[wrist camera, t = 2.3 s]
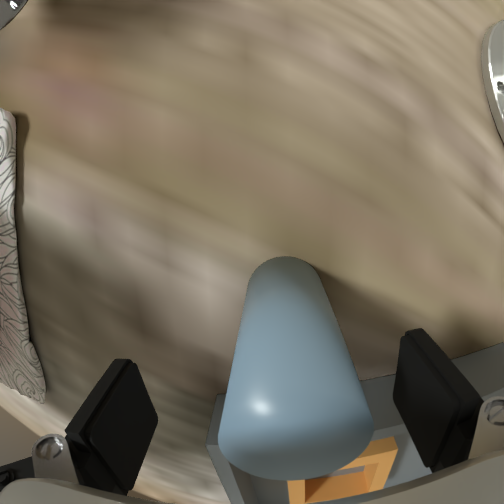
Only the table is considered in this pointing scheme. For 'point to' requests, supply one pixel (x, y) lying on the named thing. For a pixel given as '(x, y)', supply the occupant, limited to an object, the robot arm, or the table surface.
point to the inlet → (349, 476)
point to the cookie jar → (14, 283)
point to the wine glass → (9, 10)
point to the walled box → (385, 425)
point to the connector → (292, 381)
